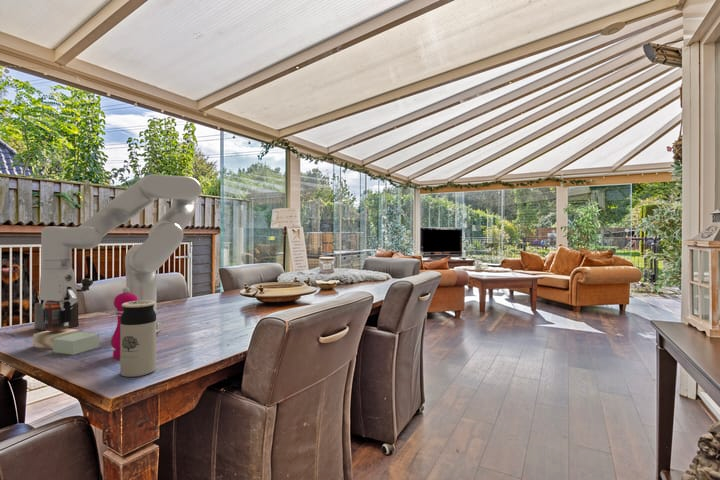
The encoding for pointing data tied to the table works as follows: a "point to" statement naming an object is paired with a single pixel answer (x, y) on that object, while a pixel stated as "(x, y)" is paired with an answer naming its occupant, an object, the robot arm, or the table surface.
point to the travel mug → (137, 338)
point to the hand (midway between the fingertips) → (57, 321)
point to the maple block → (50, 337)
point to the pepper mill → (118, 304)
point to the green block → (75, 343)
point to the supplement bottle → (53, 317)
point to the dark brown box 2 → (86, 284)
